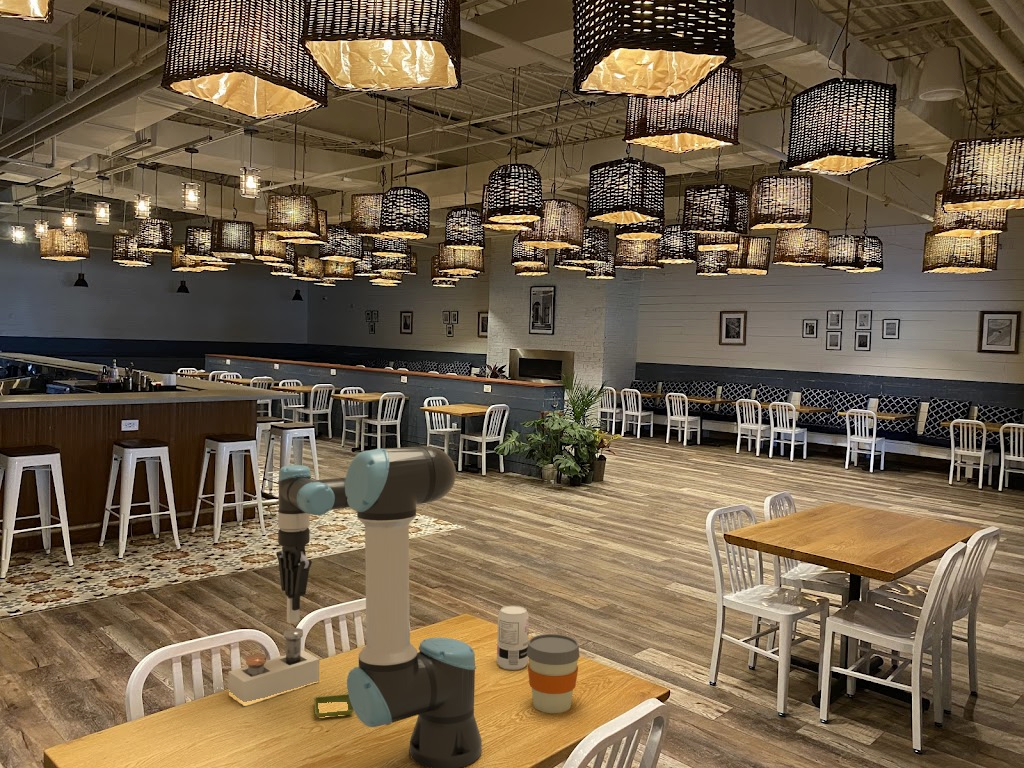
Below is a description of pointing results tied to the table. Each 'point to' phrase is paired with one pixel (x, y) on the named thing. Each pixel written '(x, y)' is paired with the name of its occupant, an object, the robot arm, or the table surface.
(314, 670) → the socket block
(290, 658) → the grey plug
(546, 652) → the reusable coffee cup
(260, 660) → the terracotta plug
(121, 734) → the table surface
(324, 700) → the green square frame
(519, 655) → the supplement can
